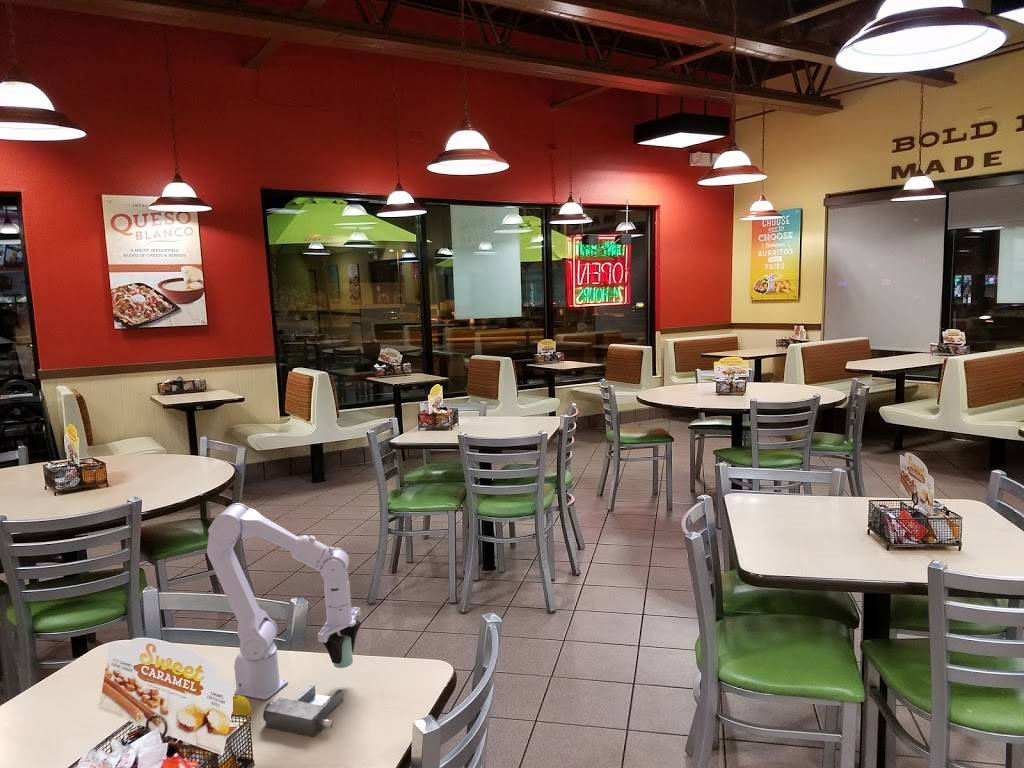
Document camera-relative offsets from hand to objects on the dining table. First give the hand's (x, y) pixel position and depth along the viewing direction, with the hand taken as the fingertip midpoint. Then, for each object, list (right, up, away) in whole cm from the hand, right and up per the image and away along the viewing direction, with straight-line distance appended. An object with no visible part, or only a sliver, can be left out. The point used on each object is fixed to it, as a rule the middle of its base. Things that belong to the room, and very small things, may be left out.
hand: (342, 657), depth 170 cm
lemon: (-18, -10, -16) cm, 26 cm away
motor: (-4, -8, -12) cm, 15 cm away
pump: (0, -1, 0) cm, 1 cm away
